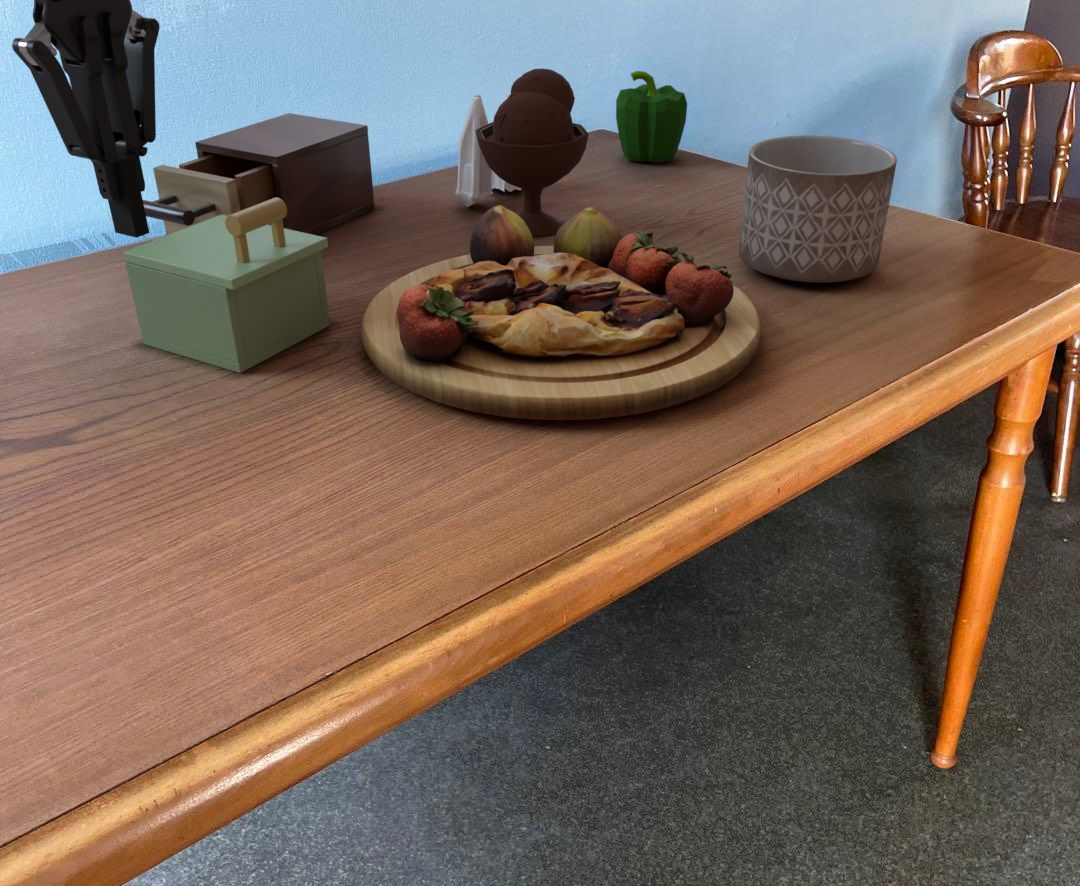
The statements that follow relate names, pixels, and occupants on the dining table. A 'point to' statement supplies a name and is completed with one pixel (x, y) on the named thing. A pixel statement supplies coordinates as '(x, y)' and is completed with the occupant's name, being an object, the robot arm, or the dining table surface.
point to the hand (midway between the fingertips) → (132, 232)
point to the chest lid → (230, 247)
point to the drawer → (208, 189)
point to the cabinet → (307, 166)
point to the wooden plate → (561, 324)
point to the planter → (816, 207)
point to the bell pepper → (650, 120)
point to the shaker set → (475, 160)
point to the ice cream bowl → (534, 141)
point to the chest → (230, 313)
